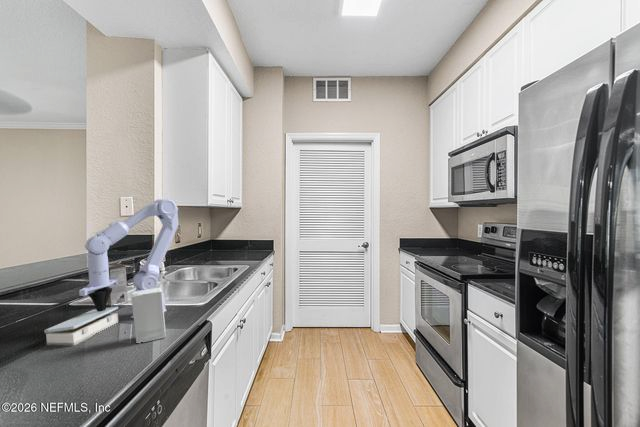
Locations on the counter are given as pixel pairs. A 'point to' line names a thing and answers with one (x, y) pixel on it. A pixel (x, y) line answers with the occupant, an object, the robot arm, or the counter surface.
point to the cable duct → (81, 331)
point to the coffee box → (121, 288)
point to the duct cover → (80, 320)
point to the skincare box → (148, 315)
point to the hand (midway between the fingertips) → (101, 310)
